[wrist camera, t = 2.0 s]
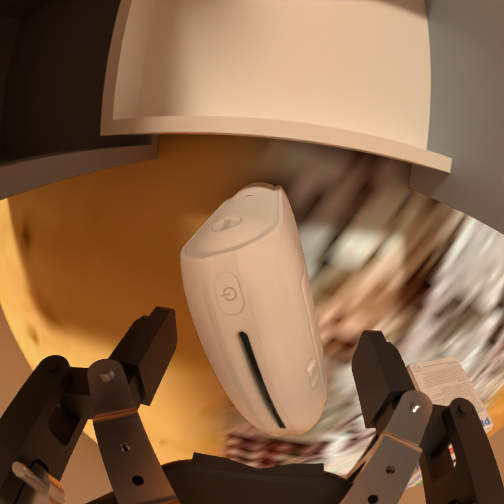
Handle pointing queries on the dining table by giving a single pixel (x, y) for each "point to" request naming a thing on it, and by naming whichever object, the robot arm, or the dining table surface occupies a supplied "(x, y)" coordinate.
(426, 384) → the light bulb box
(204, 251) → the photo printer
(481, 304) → the dining table surface
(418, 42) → the drawer tray
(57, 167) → the cabinet
